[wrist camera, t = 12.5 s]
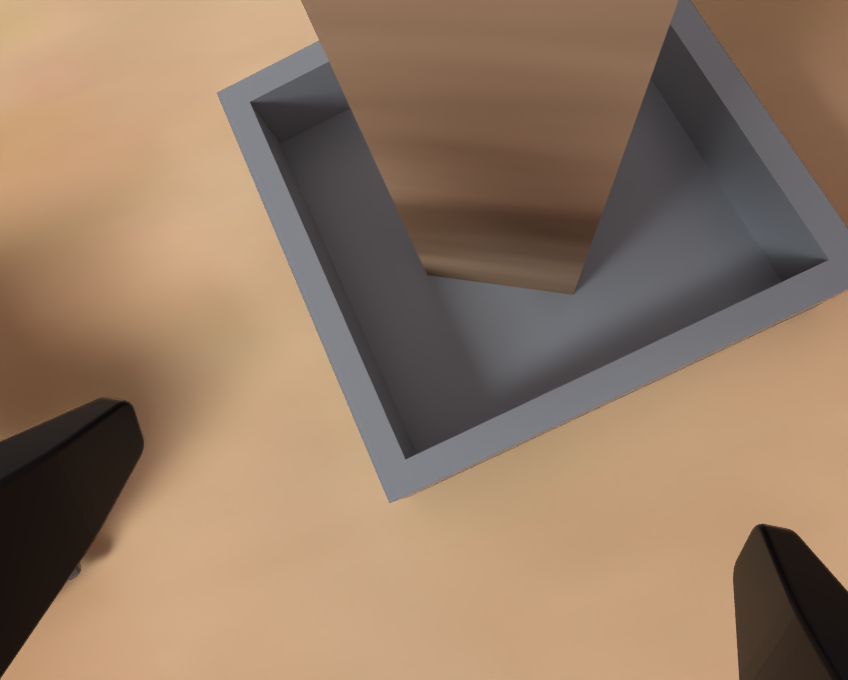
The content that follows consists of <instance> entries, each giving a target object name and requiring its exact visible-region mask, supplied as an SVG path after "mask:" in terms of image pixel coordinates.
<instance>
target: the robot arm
mask: <svg viewBox="0 0 848 680" xmlns="http://www.w3.org/2000/svg"><path fill="white" fill-rule="evenodd" d="M143 448H144V438H143V435H142V431H141V428H140V425H139V422H138V419H137V416H136V412H135V409H134V407H133V405H132V404H131V403H130V402H128V401H126V400H121V399H116V398H111V397H102V398H99V399H97V400H94V401H92V402H90V403H87V404H85V405H83V406H81V407H78V408H76V409H74V410H71V411H69V412H67V413H65V414H62V415H60V416H58V417H55V418H53V419H51V420H49V421H46V422H44V423H42V424H39V425H37V426H35V427H33V428H30V429H28V430H26V431H23V432H21V433H19V434H17V435H14V436H12V437H10V438H7V439H5V440H3V441H1V442H0V679H1V677H2V676H3V674H4V673H5V671H6V670H7V668H8V667H9V665H10V664H11V663H12V661H13V660H14V658H15V657H16V655H17V654H18V652H19V651H20V649H21V648H22V646H23V645H24V643H25V642H26V641H27V639H28V638H29V636H30V635H31V633H32V632H33V630H34V629H35V627H36V626H37V624H38V623H39V621H40V620H41V619H42V617H43V616H44V614H45V613H46V611H47V610H48V608H49V607H50V605H51V604H52V602H53V601H54V599H55V598H56V596H57V595H58V594H59V592H60V591H61V589H62V588H63V586H64V585H65V583H66V582H67V580H68V579H69V577H70V576H71V574H72V573H73V572H74V570H75V569H76V567H77V566H78V564H79V563H80V561H81V560H82V558H83V557H84V555H85V554H86V552H87V551H88V549H89V548H90V546H91V545H92V543H93V541H94V540H95V538H96V536H97V535H98V533H99V531H100V530H101V528H102V526H103V524H104V522H105V521H106V519H107V517H108V515H109V513H110V511H111V510H112V508H113V506H114V504H115V502H116V501H117V499H118V497H119V495H120V493H121V491H122V490H123V488H124V486H125V484H126V482H127V480H128V479H129V477H130V475H131V473H132V471H133V469H134V468H135V466H136V464H137V462H138V460H139V458H140V457H141V454H142V451H143ZM733 586H734V602H735V618H736V634H737V650H738V666H739V680H848V591H847V590H846V589H845V588H844V586H843V585H842V584H841V583H840V582H839V581H838V580H837V579H836V577H835V576H834V575H833V574H832V573H831V572H830V571H829V569H828V568H827V567H826V566H825V565H824V564H823V563H822V562H821V560H820V559H819V558H818V557H817V556H816V555H815V554H814V552H813V551H812V550H811V549H810V548H809V547H808V546H807V545H806V543H805V542H804V541H803V540H802V539H801V538H800V537H799V536H798V535H797V534H796V533H795V532H794V531H792V530H790V529H787V528H782V527H777V526H772V525H766V524H758V525H756V526H755V527H754V528H753V530H752V531H751V533H750V535H749V537H748V539H747V541H746V543H745V545H744V547H743V549H742V551H741V553H740V554H739V556H738V558H737V560H736V563H735V566H734V572H733Z"/></svg>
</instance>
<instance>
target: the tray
mask: <svg viewBox="0 0 848 680" xmlns="http://www.w3.org/2000/svg"><path fill="white" fill-rule="evenodd" d="M217 95H218V97H219V99H220V102H221V104H222V107H223V109H224V111H225V114H226V116H227V118H228V121H229V123H230V126H231V128H232V130H233V133H234V135H235V137H236V140H237V142H238V145H239V147H240V149H241V152H242V154H243V156H244V159H245V161H246V164H247V166H248V168H249V171H250V173H251V175H252V178H253V180H254V183H255V185H256V187H257V190H258V192H259V194H260V197H261V199H262V202H263V204H264V206H265V209H266V211H267V213H268V216H269V218H270V221H271V223H272V225H273V228H274V230H275V232H276V235H277V237H278V240H279V242H280V244H281V247H282V249H283V251H284V254H285V256H286V259H287V261H288V263H289V266H290V268H291V270H292V273H293V275H294V278H295V280H296V282H297V285H298V287H299V289H300V292H301V294H302V297H303V299H304V301H305V304H306V306H307V308H308V311H309V313H310V316H311V318H312V320H313V323H314V325H315V328H316V330H317V332H318V335H319V337H320V339H321V342H322V344H323V347H324V349H325V351H326V354H327V356H328V358H329V361H330V363H331V366H332V368H333V370H334V373H335V375H336V377H337V380H338V382H339V385H340V387H341V389H342V392H343V394H344V396H345V399H346V401H347V404H348V406H349V408H350V411H351V413H352V415H353V418H354V420H355V423H356V425H357V427H358V430H359V432H360V434H361V437H362V439H363V442H364V444H365V446H366V449H367V451H368V453H369V456H370V458H371V461H372V463H373V465H374V468H375V470H376V472H377V475H378V477H379V480H380V482H381V484H382V487H383V489H384V491H385V494H386V496H387V499H388V501H389V503H391V502H394V501H397V500H400V499H404V498H407V497H410V496H412V495H414V494H416V493H418V492H420V491H422V490H425V489H427V488H429V487H431V486H433V485H435V484H437V483H439V482H442V481H444V480H446V479H448V478H450V477H452V476H454V475H457V474H459V473H461V472H463V471H465V470H467V469H469V468H471V467H474V466H476V465H478V464H480V463H482V462H484V461H486V460H489V459H491V458H493V457H495V456H497V455H499V454H501V453H504V452H506V451H508V450H510V449H512V448H514V447H516V446H518V445H521V444H523V443H525V442H527V441H529V440H531V439H533V438H536V437H538V436H540V435H542V434H544V433H546V432H548V431H551V430H553V429H555V428H557V427H559V426H561V425H563V424H565V423H568V422H570V421H572V420H574V419H576V418H578V417H580V416H583V415H585V414H587V413H589V412H591V411H593V410H595V409H597V408H600V407H602V406H604V405H606V404H608V403H610V402H612V401H615V400H617V399H619V398H621V397H623V396H625V395H627V394H630V393H632V392H634V391H636V390H638V389H640V388H642V387H644V386H647V385H649V384H651V383H653V382H655V381H657V380H659V379H662V378H664V377H666V376H668V375H670V374H672V373H674V372H677V371H679V370H681V369H683V368H685V367H687V366H689V365H691V364H694V363H696V362H698V361H700V360H702V359H704V358H706V357H709V356H711V355H713V354H715V353H717V352H719V351H721V350H723V349H726V348H728V347H730V346H732V345H734V344H736V343H738V342H741V341H743V340H745V339H747V338H749V337H751V336H753V335H756V334H758V333H760V332H762V331H764V330H766V329H768V328H770V327H773V326H775V325H777V324H779V323H781V322H783V321H785V320H788V319H790V318H792V317H794V316H796V315H798V314H800V313H802V312H805V311H807V310H809V309H811V308H813V307H815V306H817V305H819V304H821V303H823V302H825V301H827V300H829V299H831V298H833V297H835V296H837V295H839V294H841V293H843V292H845V291H847V290H848V228H847V226H846V225H845V223H844V222H843V220H842V219H841V217H840V216H839V215H838V213H837V212H836V210H835V209H834V207H833V206H832V204H831V203H830V201H829V200H828V199H827V197H826V196H825V194H824V193H823V191H822V190H821V188H820V187H819V186H818V184H817V183H816V181H815V180H814V178H813V177H812V175H811V174H810V173H809V171H808V170H807V168H806V167H805V165H804V164H803V162H802V161H801V160H800V158H799V157H798V155H797V154H796V152H795V151H794V149H793V148H792V147H791V145H790V144H789V142H788V141H787V139H786V138H785V136H784V135H783V134H782V132H781V131H780V129H779V128H778V126H777V125H776V123H775V122H774V120H773V119H772V118H771V116H770V115H769V113H768V112H767V110H766V109H765V107H764V106H763V105H762V103H761V102H760V100H759V99H758V97H757V96H756V94H755V93H754V92H753V90H752V89H751V87H750V86H749V84H748V83H747V81H746V80H745V79H744V77H743V76H742V74H741V73H740V71H739V70H738V68H737V67H736V66H735V64H734V63H733V61H732V60H731V58H730V57H729V55H728V54H727V53H726V51H725V50H724V48H723V47H722V45H721V44H720V42H719V41H718V39H717V38H716V37H715V35H714V34H713V32H712V31H711V29H710V28H709V26H708V25H707V24H706V22H705V21H704V19H703V18H702V16H701V15H700V13H699V12H698V11H697V9H696V8H695V6H694V5H693V3H692V2H691V0H678V3H677V6H676V8H675V11H674V14H673V17H672V20H671V22H670V25H669V28H668V31H667V34H666V36H665V39H664V42H663V45H662V48H661V50H660V53H659V56H658V59H657V62H656V64H655V67H654V70H653V73H652V76H651V78H650V81H649V84H648V87H647V90H646V92H645V95H644V98H643V101H642V104H641V106H640V109H639V112H638V115H637V118H636V120H635V123H634V126H633V129H632V132H631V134H630V137H629V140H628V143H627V146H626V148H625V151H624V154H623V157H622V160H621V162H620V165H619V168H618V171H617V173H616V176H615V179H614V182H613V185H612V187H611V190H610V193H609V196H608V199H607V201H606V204H605V207H604V210H603V213H602V215H601V218H600V221H599V224H598V227H597V229H596V232H595V235H594V238H593V241H592V243H591V246H590V249H589V252H588V255H587V257H586V260H585V263H584V266H583V269H582V271H581V274H580V277H579V280H578V283H577V285H576V288H575V291H574V294H573V295H571V294H563V293H556V292H548V291H541V290H534V289H526V288H519V287H511V286H504V285H497V284H489V283H482V282H474V281H467V280H460V279H452V278H445V277H437V276H430V275H427V273H426V271H425V269H424V267H423V265H422V262H421V260H420V258H419V256H418V254H417V252H416V249H415V247H414V245H413V243H412V241H411V239H410V236H409V234H408V232H407V230H406V228H405V225H404V223H403V221H402V219H401V217H400V215H399V212H398V210H397V208H396V206H395V204H394V202H393V199H392V197H391V195H390V193H389V191H388V188H387V186H386V184H385V182H384V180H383V178H382V175H381V173H380V171H379V169H378V167H377V165H376V162H375V160H374V158H373V156H372V154H371V151H370V149H369V147H368V145H367V143H366V141H365V138H364V136H363V134H362V132H361V130H360V128H359V125H358V123H357V121H356V119H355V117H354V115H353V112H352V110H351V108H350V106H349V104H348V101H347V99H346V97H345V95H344V93H343V91H342V88H341V86H340V84H339V82H338V80H337V78H336V75H335V73H334V71H333V69H332V67H331V64H330V62H329V60H328V58H327V56H326V54H325V51H324V49H323V47H322V45H321V43H320V41H317V42H315V43H313V44H312V45H310V46H308V47H306V48H304V49H302V50H300V51H298V52H296V53H294V54H292V55H290V56H288V57H286V58H284V59H282V60H280V61H278V62H276V63H274V64H272V65H270V66H268V67H266V68H264V69H263V70H261V71H259V72H257V73H255V74H253V75H251V76H249V77H247V78H245V79H243V80H241V81H239V82H237V83H235V84H233V85H231V86H229V87H227V88H225V89H223V90H221V91H219V92H217Z"/></svg>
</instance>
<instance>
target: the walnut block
mask: <svg viewBox="0 0 848 680" xmlns="http://www.w3.org/2000/svg"><path fill="white" fill-rule="evenodd" d="M301 1H302V4H303V6H304V8H305V10H306V12H307V14H308V17H309V19H310V21H311V23H312V25H313V27H314V30H315V32H316V34H317V36H318V38H319V41H320V43H321V45H322V47H323V49H324V51H325V54H326V56H327V58H328V60H329V62H330V64H331V67H332V69H333V71H334V73H335V75H336V78H337V80H338V82H339V84H340V86H341V88H342V91H343V93H344V95H345V97H346V99H347V101H348V104H349V106H350V108H351V110H352V112H353V115H354V117H355V119H356V121H357V123H358V125H359V128H360V130H361V132H362V134H363V136H364V138H365V141H366V143H367V145H368V147H369V149H370V151H371V154H372V156H373V158H374V160H375V162H376V165H377V167H378V169H379V171H380V173H381V175H382V178H383V180H384V182H385V184H386V186H387V188H388V191H389V193H390V195H391V197H392V199H393V202H394V204H395V206H396V208H397V210H398V212H399V215H400V217H401V219H402V221H403V223H404V225H405V228H406V230H407V232H408V234H409V236H410V239H411V241H412V243H413V245H414V247H415V249H416V252H417V254H418V256H419V258H420V260H421V262H422V265H423V267H424V269H425V271H426V273H427V275H430V276H437V277H445V278H452V279H460V280H467V281H474V282H482V283H489V284H497V285H504V286H511V287H519V288H526V289H534V290H541V291H548V292H556V293H563V294H571V295H573V294H574V291H575V288H576V285H577V283H578V280H579V277H580V274H581V271H582V269H583V266H584V263H585V260H586V257H587V255H588V252H589V249H590V246H591V243H592V241H593V238H594V235H595V232H596V229H597V227H598V224H599V221H600V218H601V215H602V213H603V210H604V207H605V204H606V201H607V199H608V196H609V193H610V190H611V187H612V185H613V182H614V179H615V176H616V173H617V171H618V168H619V165H620V162H621V160H622V157H623V154H624V151H625V148H626V146H627V143H628V140H629V137H630V134H631V132H632V129H633V126H634V123H635V120H636V118H637V115H638V112H639V109H640V106H641V104H642V101H643V98H644V95H645V92H646V90H647V87H648V84H649V81H650V78H651V76H652V73H653V70H654V67H655V64H656V62H657V59H658V56H659V53H660V50H661V48H662V45H663V42H664V39H665V36H666V34H667V31H668V28H669V25H670V22H671V20H672V17H673V14H674V11H675V8H676V6H677V3H678V0H301Z"/></svg>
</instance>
